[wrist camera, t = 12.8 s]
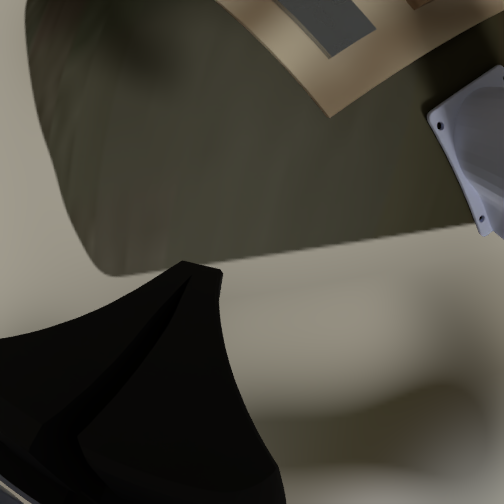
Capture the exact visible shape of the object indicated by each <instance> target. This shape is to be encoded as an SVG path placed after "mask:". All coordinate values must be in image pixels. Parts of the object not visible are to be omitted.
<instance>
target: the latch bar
mask: <svg viewBox="0 0 504 504" xmlns="http://www.w3.org/2000/svg"><path fill="white" fill-rule="evenodd" d="M272 1H273V2H274V3H275V4H276V5H277V6H278V7H279V8H280V9H282V10H283V11H284V12H285V13H286V14H287V15H288V16H289V17H290V18H291V19H292V20H293V21H294V22H295V23H296V24H297V25H298V26H299V27H300V28H301V29H302V30H303V31H304V32H305V34H306V35H307V36H308V37H309V38H310V39H311V40H312V41H313V42H314V43H315V44H316V45H317V47H318V48H319V49H320V50H321V51H322V52H323V53H324V55H325V56H326V57H327V58H328V59H330V58H332V57H333V56H335V55H336V54H338V53H339V52H341V51H343V50H344V49H346V48H347V47H349V46H350V45H352V44H353V43H355V42H357V41H358V40H360V39H361V38H363V37H365V36H366V35H368V34H370V33H371V32H373V31H375V30H376V27H375V26H374V25H373V24H372V23H371V21H370V20H369V19H368V18H367V17H366V16H365V15H364V13H363V12H362V11H361V10H360V9H359V8H358V7H357V6H356V4H355V3H354V2H353V1H352V0H272Z"/></svg>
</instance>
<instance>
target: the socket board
mask: <svg viewBox="0 0 504 504" xmlns="http://www.w3.org/2000/svg"><path fill="white" fill-rule="evenodd" d="M214 1H215V2H217V3H218V4H219V5H220V6H221V7H222V8H224V9H225V10H226V11H227V12H228V13H229V14H230V15H232V16H233V17H234V18H235V19H236V20H237V21H238V22H239V23H240V24H242V25H243V26H244V27H245V28H246V29H247V30H248V31H249V32H250V33H251V34H252V35H253V36H254V37H255V38H256V39H257V40H258V41H259V42H260V43H261V44H262V45H263V46H264V47H265V48H266V49H267V50H268V51H269V52H270V53H271V54H272V55H273V56H274V57H275V58H276V59H277V60H278V61H279V62H280V63H281V64H282V65H283V66H284V68H285V69H286V70H287V71H288V72H289V73H290V74H291V75H292V76H293V77H294V79H295V80H296V81H297V82H298V83H299V84H300V85H301V86H302V88H303V89H304V90H305V91H306V92H307V93H308V95H309V96H310V97H311V98H312V99H313V101H314V102H315V103H316V104H317V105H318V107H319V108H320V109H321V110H322V112H323V113H324V114H325V115H326V117H328V118H330V117H332V116H333V115H335V114H336V113H337V112H339V111H340V110H342V109H343V108H344V107H346V106H347V105H349V104H350V103H352V102H353V101H354V100H356V99H357V98H359V97H360V96H362V95H363V94H365V93H366V92H368V91H369V90H371V89H372V88H373V87H375V86H376V85H378V84H379V83H381V82H382V81H384V80H385V79H387V78H388V77H390V76H392V75H393V74H395V73H396V72H398V71H399V70H401V69H402V68H404V67H405V66H407V65H409V64H410V63H412V62H413V61H415V60H417V59H418V58H420V57H421V56H423V55H425V54H426V53H428V52H429V51H431V50H433V49H434V48H436V47H438V46H439V45H441V44H443V43H444V42H446V41H448V40H450V39H451V38H453V37H455V36H457V35H458V34H460V33H462V32H464V31H465V30H467V29H469V28H471V27H473V26H474V25H476V24H478V23H480V22H482V21H484V20H486V19H487V18H489V17H491V16H493V15H495V14H497V13H499V12H501V11H503V10H504V0H352V1H353V2H354V3H355V4H356V6H357V7H358V8H359V9H360V10H361V11H362V12H363V13H364V15H365V16H366V17H367V18H368V19H369V20H370V21H371V23H372V24H373V25H374V26H375V27H376V30H375V31H373V32H371V33H370V34H368V35H366V36H365V37H363V38H361V39H360V40H358V41H357V42H355V43H353V44H352V45H350V46H349V47H347V48H346V49H344V50H343V51H341V52H339V53H338V54H336V55H335V56H333V57H332V58H330V59H328V58H327V57H326V56H325V55H324V53H323V52H322V51H321V50H320V49H319V48H318V47H317V45H316V44H315V43H314V42H313V41H312V40H311V39H310V38H309V37H308V36H307V35H306V34H305V32H304V31H303V30H302V29H301V28H300V27H299V26H298V25H297V24H296V23H295V22H294V21H293V20H292V19H291V18H290V17H289V16H288V15H287V14H286V13H285V12H284V11H283V10H282V9H280V8H279V7H278V6H277V5H276V4H275V3H274V2H273V1H272V0H214Z"/></svg>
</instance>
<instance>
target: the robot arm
mask: <svg viewBox="0 0 504 504" xmlns="http://www.w3.org/2000/svg"><path fill="white" fill-rule="evenodd" d="M503 77H504V67H503V66H501V65H496V66H494V67H493V68H492V69H490V70H489V71H487V72H486V73H484V74H483V75H481V76H480V77H478V78H477V79H475V80H474V81H472V82H471V83H470V84H468V85H467V86H465V87H464V88H462V89H461V90H459V91H458V92H457V93H455V94H454V95H452V96H451V97H449V98H448V99H446V100H445V101H443V102H442V103H441V104H439V105H438V106H436V107H435V108H433V109H432V110H431V111H429V112H428V114H427V121H428V123H429V125H430V126H431V128H432V130H433V132H434V134H435V135H436V137H437V139H438V141H439V143H440V145H441V146H442V148H443V150H444V152H445V154H446V156H447V158H448V160H449V162H450V164H451V166H452V168H453V170H454V173H455V175H456V177H457V179H458V181H459V184H460V186H461V188H462V190H463V193H464V195H465V198H466V200H467V202H468V205H469V207H470V210H471V213H472V215H473V218H474V221H475V223H476V226H477V229H478V232H479V234H481V235H482V236H487V235H488V234H489V233H490V232H492V231H494V232H495V233H496V234H498V235H499V236H500V237H501V238H503V239H504V80H503ZM438 122H440V123H441V128H440V129H438V128H437V123H438ZM480 216H482V218H481V219H480V220H479V218H480ZM222 277H223V273H222V271H221V270H220V269H216V268H212V267H208V266H204V265H199V264H195V263H191V262H187V261H181V262H179V263H177V264H176V265H174V266H173V267H171V268H169V269H168V270H166V271H165V272H163V273H162V274H160V275H159V276H157V277H155V278H154V279H152V280H151V281H149V282H147V283H146V284H144V285H142V286H141V287H139V288H138V289H136V290H134V291H132V292H131V293H128V294H127V295H125V296H123V297H121V298H119V299H118V300H116V301H114V302H112V303H110V304H108V305H106V306H104V307H102V308H100V309H98V310H95V311H93V312H90V313H88V314H86V315H83V316H81V317H78V318H76V319H73V320H70V321H67V322H64V323H61V324H58V325H55V326H52V327H49V328H46V329H42V330H39V331H35V332H31V333H27V334H23V335H18V336H13V337H8V338H2V339H0V480H1V481H2V482H3V483H4V484H6V485H7V486H8V487H9V488H11V489H12V490H13V491H15V492H16V493H17V494H19V495H20V496H22V497H23V498H24V499H26V500H27V501H29V502H30V503H32V504H286V498H285V492H284V487H283V483H282V479H281V475H280V471H279V467H278V465H277V464H276V462H275V460H274V459H273V457H272V456H271V454H270V452H269V451H268V449H267V447H266V446H265V444H264V442H263V440H262V439H261V437H260V435H259V433H258V431H257V429H256V427H255V425H254V423H253V421H252V419H251V417H250V415H249V413H248V411H247V409H246V406H245V404H244V402H243V399H242V397H241V394H240V392H239V389H238V387H237V384H236V382H235V379H234V376H233V373H232V370H231V367H230V364H229V360H228V356H227V353H226V349H225V344H224V339H223V334H222V328H221V322H220V311H219V297H220V290H221V284H222ZM0 504H23V503H22V502H21V501H20V500H19V499H18V498H17V497H15V496H14V495H13V494H12V493H11V492H9V491H8V490H7V489H5V488H4V487H2V486H1V485H0Z"/></svg>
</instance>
